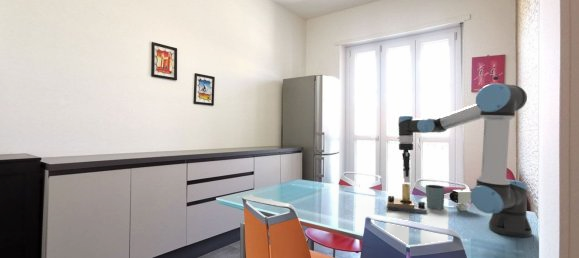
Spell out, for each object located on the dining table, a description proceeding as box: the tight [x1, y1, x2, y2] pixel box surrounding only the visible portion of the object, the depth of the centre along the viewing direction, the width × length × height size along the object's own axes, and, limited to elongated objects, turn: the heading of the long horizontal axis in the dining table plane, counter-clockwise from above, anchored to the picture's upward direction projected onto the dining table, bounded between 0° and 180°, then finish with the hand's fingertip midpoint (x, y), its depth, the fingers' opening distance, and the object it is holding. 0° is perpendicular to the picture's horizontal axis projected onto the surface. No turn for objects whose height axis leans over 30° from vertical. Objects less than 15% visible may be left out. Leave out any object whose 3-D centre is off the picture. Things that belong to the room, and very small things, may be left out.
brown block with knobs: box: [386, 195, 428, 215], centre depth 160 cm, size 12×20×6 cm, turn 70°
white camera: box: [449, 188, 473, 212], centre depth 157 cm, size 6×12×12 cm, turn 94°
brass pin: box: [401, 183, 411, 204], centre depth 160 cm, size 4×4×14 cm
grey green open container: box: [425, 184, 446, 210], centre depth 163 cm, size 10×10×12 cm
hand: (406, 180), depth 159 cm, fingers open, 13 cm apart
